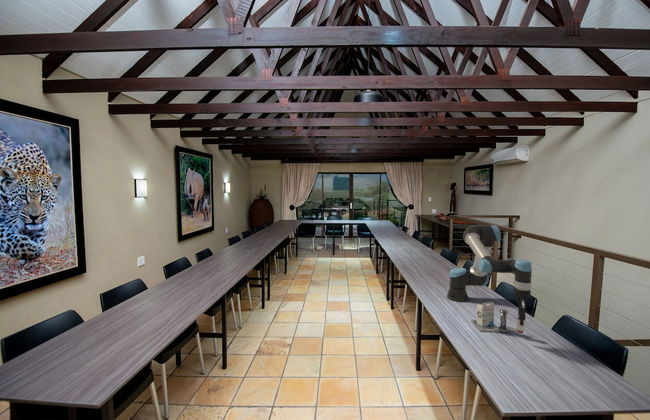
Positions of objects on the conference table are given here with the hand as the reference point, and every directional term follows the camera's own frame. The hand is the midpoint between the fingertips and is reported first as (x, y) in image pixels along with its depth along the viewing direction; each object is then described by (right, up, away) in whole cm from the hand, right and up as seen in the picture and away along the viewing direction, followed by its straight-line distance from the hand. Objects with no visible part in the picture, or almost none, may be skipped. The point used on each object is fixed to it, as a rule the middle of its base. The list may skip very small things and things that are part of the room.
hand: (521, 330), depth 163 cm
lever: (+2, -4, +9) cm, 10 cm away
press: (-7, -6, +19) cm, 21 cm away
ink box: (-9, -5, +20) cm, 22 cm away
